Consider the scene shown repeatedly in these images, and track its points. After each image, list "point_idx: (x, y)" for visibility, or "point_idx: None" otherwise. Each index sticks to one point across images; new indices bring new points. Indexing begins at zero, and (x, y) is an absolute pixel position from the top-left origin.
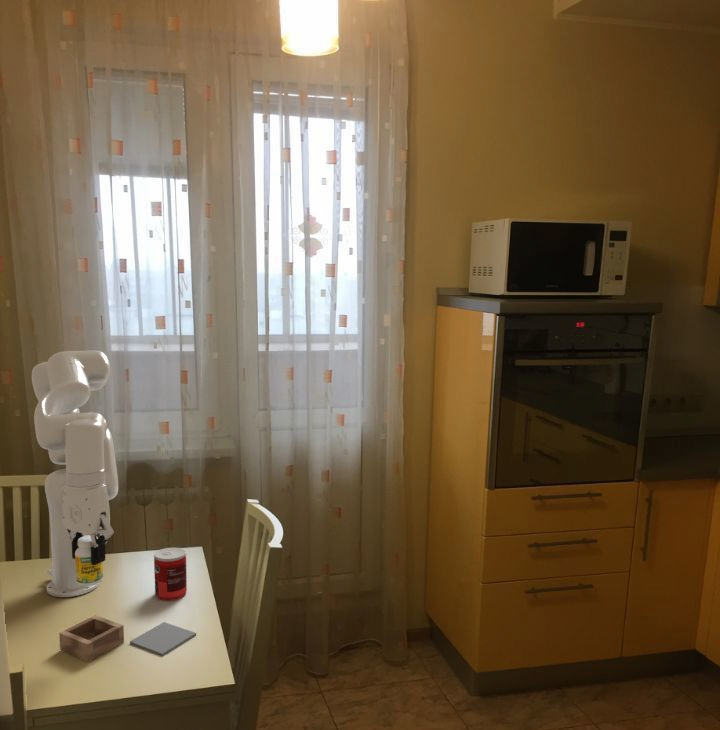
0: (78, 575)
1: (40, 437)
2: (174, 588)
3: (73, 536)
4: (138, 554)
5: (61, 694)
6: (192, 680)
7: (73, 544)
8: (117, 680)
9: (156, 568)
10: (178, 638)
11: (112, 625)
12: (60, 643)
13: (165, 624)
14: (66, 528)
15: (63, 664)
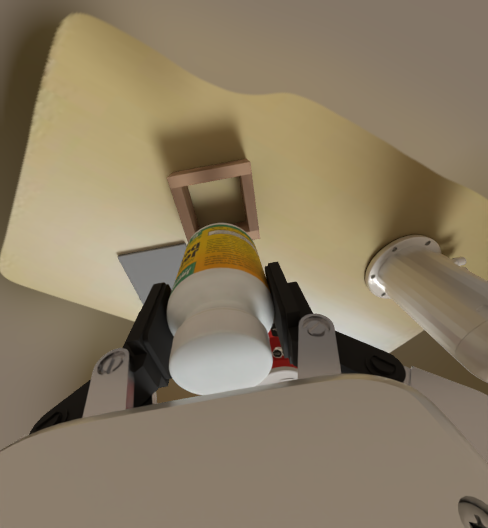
0: (213, 233)
1: None
2: None
3: (299, 339)
4: (386, 349)
5: (94, 75)
6: (24, 249)
7: (283, 303)
8: (86, 176)
9: (280, 353)
10: (145, 288)
11: None
12: (245, 160)
13: None
14: (351, 374)
15: (198, 138)
